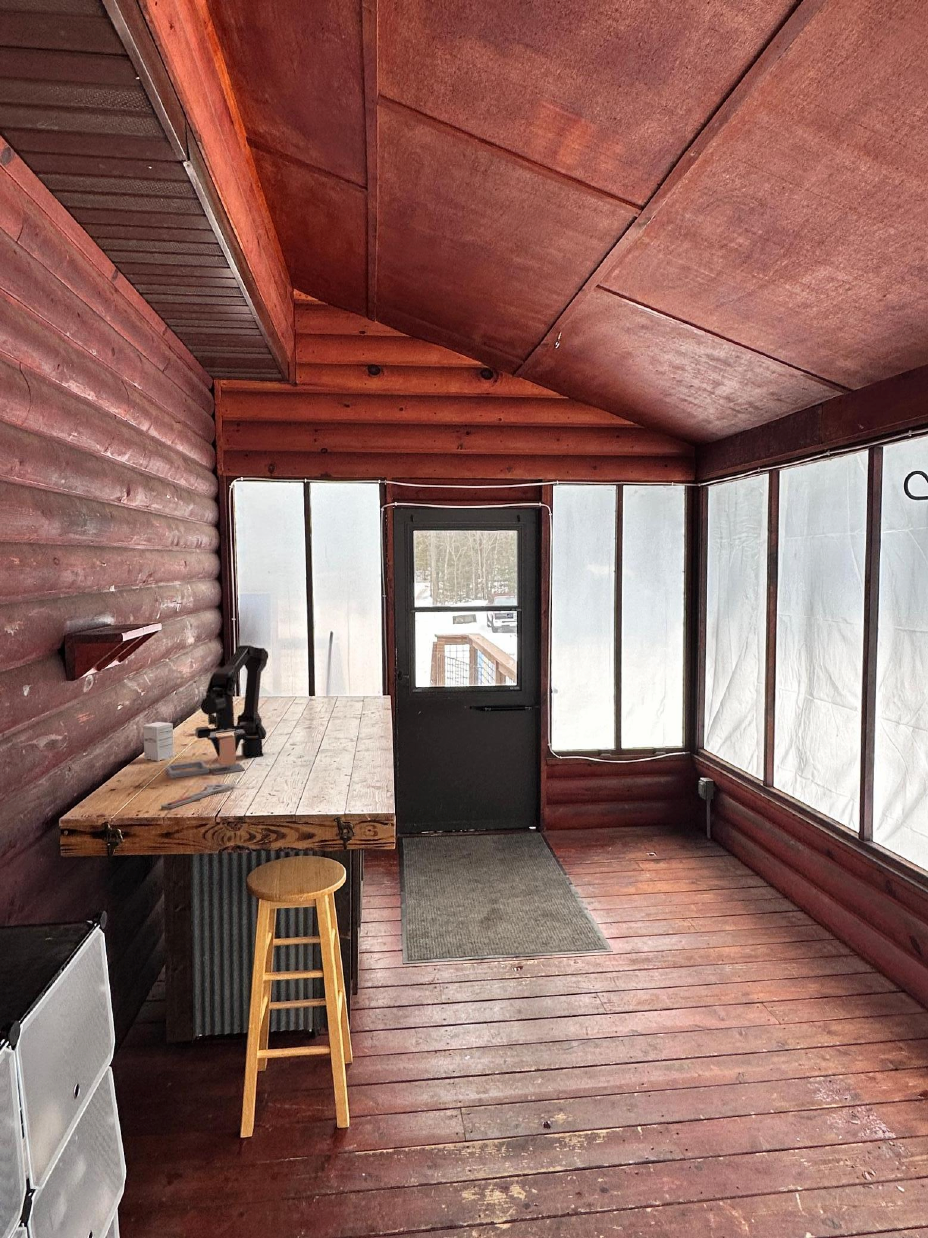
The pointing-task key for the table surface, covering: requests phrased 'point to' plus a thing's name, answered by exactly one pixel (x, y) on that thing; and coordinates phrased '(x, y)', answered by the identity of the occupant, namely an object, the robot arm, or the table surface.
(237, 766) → the place mat
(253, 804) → the table surface
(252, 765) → the table surface
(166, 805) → the adjustable wrench
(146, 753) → the supplement box
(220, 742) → the block
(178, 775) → the blue-grey square frame
